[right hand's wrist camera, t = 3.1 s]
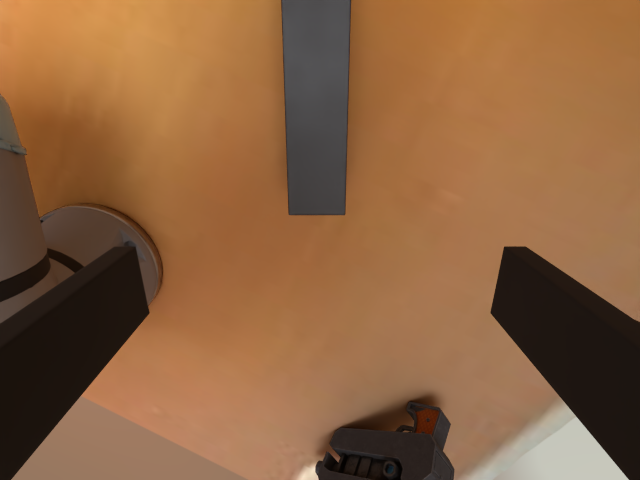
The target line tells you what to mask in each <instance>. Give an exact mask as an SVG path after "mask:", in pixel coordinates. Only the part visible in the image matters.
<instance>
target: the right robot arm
mask: <svg viewBox="0 0 640 480" xmlns="http://www.w3.org/2000/svg"><path fill="white" fill-rule="evenodd" d="M24 155H27V154H26V149H25V148H24V147H23V146H22V145H21V142H20V139H19V136H18V133H17V129H16V126H15V123H14V120H13V117H12V114H11V111H10V107H9V105H8V103H7V102H6V100H5V99H4V97H3V96H2V95H1V94H0V480H11V479H12V478H13V477H14V475H15V474H16V473H17V472H18V471H19V469H20V468H21V467H22V466H23V465H24V463H25V462H26V461H27V460H28V459H29V457H30V456H31V455H32V454H33V453H34V451H35V450H36V449H37V448H38V446H39V445H40V444H41V443H42V442H43V441H44V439H45V438H46V437H47V436H48V435H49V433H50V432H51V431H52V430H53V429H54V427H55V426H56V425H57V424H58V422H59V421H60V420H61V419H62V418H63V416H64V415H65V414H66V413H67V412H68V410H69V409H70V408H71V407H72V406H73V404H74V403H75V402H76V401H77V400H78V398H79V397H80V396H81V395H82V394H83V392H84V391H85V390H86V389H87V388H88V386H89V385H90V384H91V383H92V382H93V380H94V379H95V378H96V377H97V376H98V374H99V373H100V372H101V371H102V370H103V368H104V367H105V366H106V365H107V364H108V362H109V361H110V360H111V359H112V358H113V356H114V355H115V354H116V353H117V351H118V350H119V349H120V348H121V347H122V345H123V344H124V343H125V342H126V341H127V339H128V338H129V337H130V336H131V335H132V333H133V332H134V331H135V330H136V329H137V327H138V326H139V325H140V324H141V323H142V321H143V320H144V319H145V318H146V317H147V315H148V314H149V308H148V305H149V304H150V303H151V302H152V301H153V299H154V298H155V297H156V295H157V293H158V291H159V289H160V286H161V282H162V264H161V260H160V256H159V254H158V251H157V249H156V247H155V245H154V243H153V242H152V240H151V239H150V237H149V236H148V235H147V234H146V232H145V231H144V230H143V229H142V228H141V227H140V226H139V225H138V224H136V223H135V222H134V221H133V220H131V219H130V218H128V217H127V216H125V215H124V214H122V213H120V212H118V211H116V210H113V209H111V208H108V207H105V206H101V205H96V204H88V203H80V204H72V205H67V206H64V207H61V208H58V209H56V210H53V211H51V212H49V213H47V214H45V215H44V216H42V217H41V218H39V214H38V210H37V206H36V202H35V198H34V194H33V190H32V186H31V182H30V178H29V174H28V169H27V165H26V160H25V156H24ZM491 314H492V315H493V317H494V318H495V319H496V320H497V321H498V323H499V324H500V325H501V326H502V327H503V329H504V330H505V331H506V332H507V333H508V335H509V336H510V337H511V338H512V339H513V341H514V342H515V343H516V344H517V345H518V347H519V348H520V349H521V350H522V352H523V353H524V354H525V355H526V356H527V358H528V359H529V360H530V361H531V362H532V364H533V365H534V366H535V367H536V368H537V370H538V371H539V372H540V373H541V374H542V376H543V377H544V378H545V379H546V380H547V382H548V383H549V384H550V385H551V386H552V388H553V389H554V390H555V391H556V392H557V394H558V395H559V396H560V397H561V398H562V400H563V401H564V402H565V403H566V404H567V406H568V407H569V408H570V409H571V410H572V412H573V413H574V414H575V415H576V416H577V418H578V419H579V420H580V421H581V422H582V424H583V425H584V426H585V427H586V428H587V430H588V431H589V432H590V433H591V435H592V436H593V437H594V438H595V439H596V440H597V442H598V443H599V444H600V445H601V447H602V448H603V449H604V450H605V451H606V453H607V454H608V455H609V456H610V457H611V459H612V460H613V461H614V462H615V463H616V465H617V466H618V467H619V468H620V469H621V471H622V472H623V473H624V474H625V475H626V477H627V478H628V479H629V480H640V322H638V321H636V320H634V319H632V318H631V317H629V316H628V315H626V314H625V313H623V312H622V311H620V310H619V309H617V308H616V307H615V306H613V305H612V304H610V303H609V302H607V301H606V300H604V299H603V298H601V297H600V296H598V295H597V294H595V293H594V292H592V291H591V290H589V289H588V288H586V287H585V286H583V285H582V284H580V283H579V282H577V281H576V280H574V279H573V278H572V277H570V276H569V275H567V274H566V273H564V272H563V271H561V270H560V269H558V268H557V267H555V266H554V265H552V264H551V263H549V262H548V261H546V260H545V259H543V258H542V257H540V256H539V255H537V254H536V253H534V252H533V251H531V250H530V249H529V248H527V247H504V250H503V255H502V260H501V265H500V270H499V274H498V279H497V284H496V289H495V294H494V299H493V303H492V308H491Z"/></svg>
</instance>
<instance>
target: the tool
mask: <svg viewBox="0 0 640 480" xmlns="http://www.w3.org/2000/svg"><path fill="white" fill-rule="evenodd" d="M406 410H407V411H408V413H409V414H410V415H411V417H412V418H413V420H414V427H411V426H406V425H402V426H400V427H398V428H397V430H396V432H393V431H379V430H365V429H351V428H340V429H338V430H337V431H336V432H335V433H334V435H333V437H332V440H331V442H330V446H331V447H332V448H333V449H334V450H335V452H336V453H337V454H338V455H339V456H340V457H341V458H340V460H339V463H338V462H337V461H336V460H335V458H334V457H333V456H332V455H331V454H330V453H329V452H326V454H325V457H324V459H323V461H318V462H317V464H316V471H315V472H316V474H317V475H318V478H319V480H453V479H454V468H453V466H452V464H451V462H450V460H449V459H448V457H447V456H446V455H445V453H444V452H443V448H444V445H445V442H446V438H447V435H448V432H449V428H450V425H451V424H450V422H449V421H448V419H447V418H446V416H445V415H444V413H443V412H442V410H441V409H440V408H439V407H434V406H429V405H424V404H420V403H415V402H409V403H408V406H407V409H406ZM404 430H406V431H410V432H408V433H407V432H403V431H404ZM411 431H412V432H411Z"/></svg>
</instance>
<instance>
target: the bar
mask: <svg viewBox="0 0 640 480" xmlns="http://www.w3.org/2000/svg"><path fill="white" fill-rule="evenodd" d="M281 3H282V33H283V62H284V92H285V121H286V150H287V180H288V209H289V215H345V201H346V164H347V127H348V91H349V54H350V17H351V0H281Z"/></svg>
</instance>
